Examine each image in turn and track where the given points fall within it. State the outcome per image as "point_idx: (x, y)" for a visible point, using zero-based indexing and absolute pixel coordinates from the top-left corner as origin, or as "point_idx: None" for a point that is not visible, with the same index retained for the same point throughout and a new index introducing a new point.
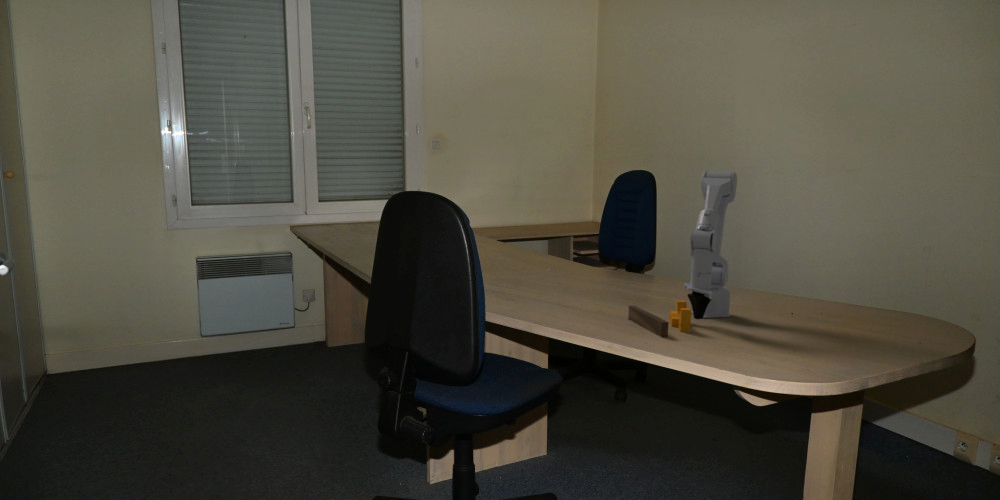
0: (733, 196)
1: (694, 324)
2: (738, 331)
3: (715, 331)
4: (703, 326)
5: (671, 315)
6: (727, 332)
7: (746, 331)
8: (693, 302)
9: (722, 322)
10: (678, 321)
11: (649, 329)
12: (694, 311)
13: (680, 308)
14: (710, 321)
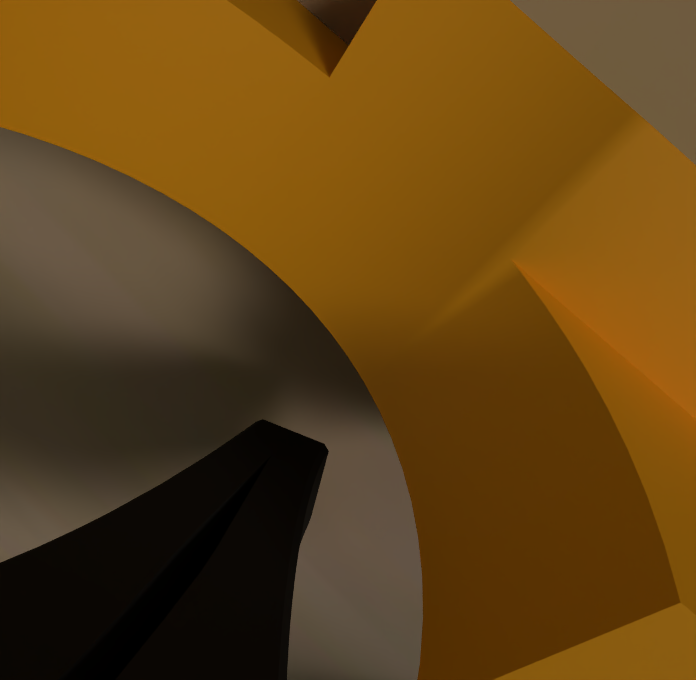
0: None
1: (371, 409)
2: (28, 500)
3: (47, 344)
4: (252, 414)
5: (596, 79)
6: (6, 405)
7: (23, 541)
8: (124, 676)
9: (310, 661)
10: (332, 63)
11: None
12: (243, 505)
13: (527, 447)
14: (391, 632)
